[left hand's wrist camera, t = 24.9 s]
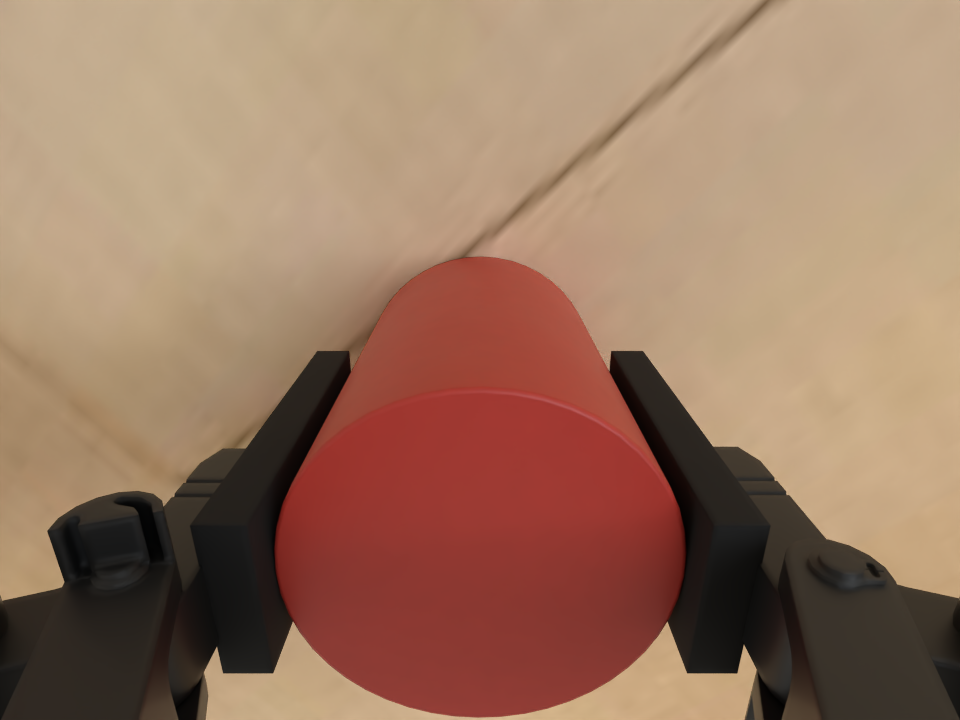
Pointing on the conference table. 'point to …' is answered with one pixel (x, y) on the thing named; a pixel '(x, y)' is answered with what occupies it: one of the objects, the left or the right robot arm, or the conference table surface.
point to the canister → (480, 506)
